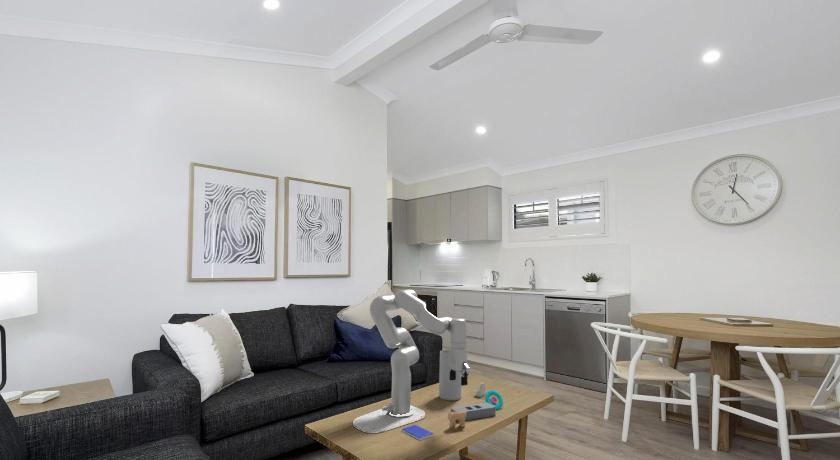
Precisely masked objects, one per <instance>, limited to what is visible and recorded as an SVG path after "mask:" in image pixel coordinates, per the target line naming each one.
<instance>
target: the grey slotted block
mask: <svg viewBox="0 0 840 460" xmlns="http://www.w3.org/2000/svg"><path fill="white" fill-rule="evenodd" d="M462 410H463V411H465V412H467V415H466V418H465V421H470V420H474V419H475V420H476V419H480V418H481V419H482V418H486V417H493V416H496V415H497V414H496V411H497V410H496V407H495V406H493V405H491V404H489V403H486V402H484V403H476V404H475V403H474V404H470V405H462V406H456V407H451V408H450V412H456V411H462ZM456 421H457V422H458V423H459V419H458V420H456Z"/></svg>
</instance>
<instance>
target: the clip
mask: <svg viewBox="0 0 840 460" xmlns="http://www.w3.org/2000/svg"><path fill="white" fill-rule="evenodd" d="M466 415H467V412H465V411H463V410H462V411H456V412H451V411H450V412H448V415H447V418H448V419H449V428H450V429H452V430H455V429H456V423H457V422H456V421H457V420H458V419H459V422H458V426H459V427H460V428H465V426H466V425H465V423H466V420H465V418H466Z"/></svg>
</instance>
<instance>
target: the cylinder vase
mask: <svg viewBox="0 0 840 460" xmlns="http://www.w3.org/2000/svg"><path fill="white" fill-rule="evenodd" d="M449 350H450V349H441V350H440V351H439V375H438V376H439V379H438V380H439V381H438V383H439V385H438V397H439V398H440V399H442V400H444V401H458V400H460V399H461V398H462V385H461V377H462V375H461V372H457V371H456V380H450V371H449V367H448V360H449Z"/></svg>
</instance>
